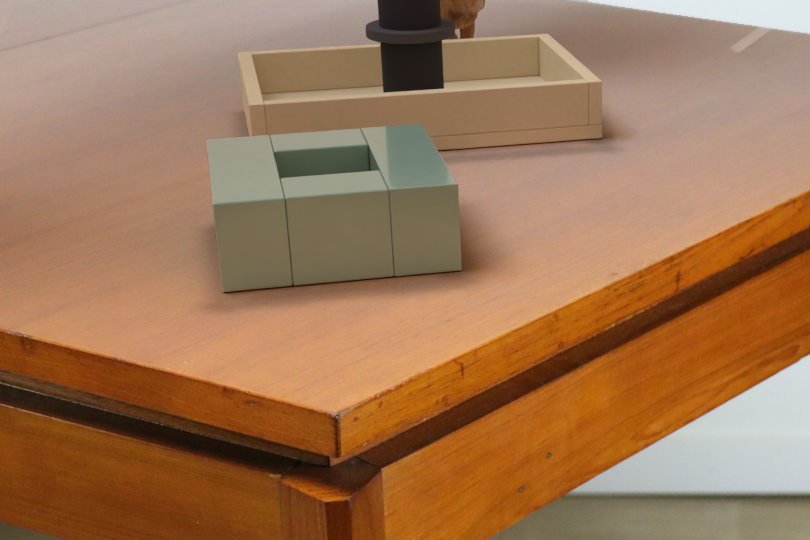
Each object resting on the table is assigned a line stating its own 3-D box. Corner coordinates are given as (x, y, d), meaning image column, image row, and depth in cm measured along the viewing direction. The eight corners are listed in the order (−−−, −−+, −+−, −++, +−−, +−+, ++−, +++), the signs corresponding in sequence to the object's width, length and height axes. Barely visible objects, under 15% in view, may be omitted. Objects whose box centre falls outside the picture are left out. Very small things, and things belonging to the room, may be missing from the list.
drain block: (222, 292, 65) (212, 203, 63) (214, 218, 74) (205, 139, 72) (462, 270, 67) (458, 183, 65) (425, 201, 76) (421, 123, 75)
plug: (376, 121, 88) (363, -76, 83) (365, 99, 92) (353, -88, 88) (465, 114, 89) (457, -80, 84) (450, 94, 93) (442, -92, 89)
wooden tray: (254, 164, 83) (248, 104, 81) (243, 104, 95) (237, 52, 93) (602, 138, 87) (602, 81, 85) (549, 84, 99) (548, 33, 97)
